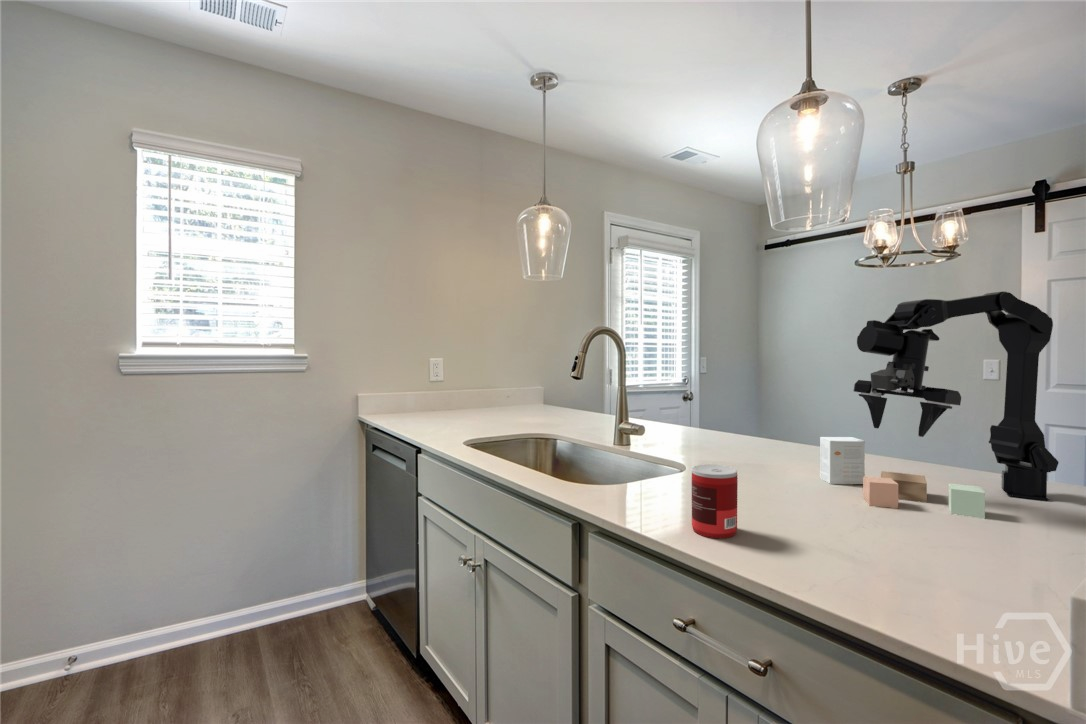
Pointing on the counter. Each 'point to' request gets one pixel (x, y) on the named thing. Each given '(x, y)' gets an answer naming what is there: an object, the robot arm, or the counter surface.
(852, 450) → the small box
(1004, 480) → the robot arm
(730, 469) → the canned food
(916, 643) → the counter surface
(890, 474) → the walnut block
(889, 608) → the counter surface
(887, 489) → the terracotta cube
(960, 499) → the sage cube
